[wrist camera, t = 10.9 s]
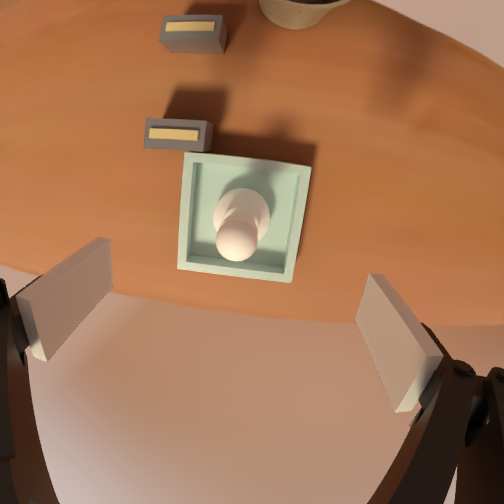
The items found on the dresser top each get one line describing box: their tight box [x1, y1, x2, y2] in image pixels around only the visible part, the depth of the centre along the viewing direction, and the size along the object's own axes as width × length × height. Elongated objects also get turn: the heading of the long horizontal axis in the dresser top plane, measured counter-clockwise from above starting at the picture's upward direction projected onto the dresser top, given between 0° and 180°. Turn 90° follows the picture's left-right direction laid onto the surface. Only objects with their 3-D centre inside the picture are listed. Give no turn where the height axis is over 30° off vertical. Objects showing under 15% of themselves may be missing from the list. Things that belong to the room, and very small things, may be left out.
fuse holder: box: [144, 15, 228, 152], centre depth 22 cm, size 5×12×4 cm, turn 173°
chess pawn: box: [213, 188, 270, 261], centre depth 23 cm, size 5×5×9 cm
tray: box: [177, 151, 311, 283], centre depth 27 cm, size 11×11×2 cm
